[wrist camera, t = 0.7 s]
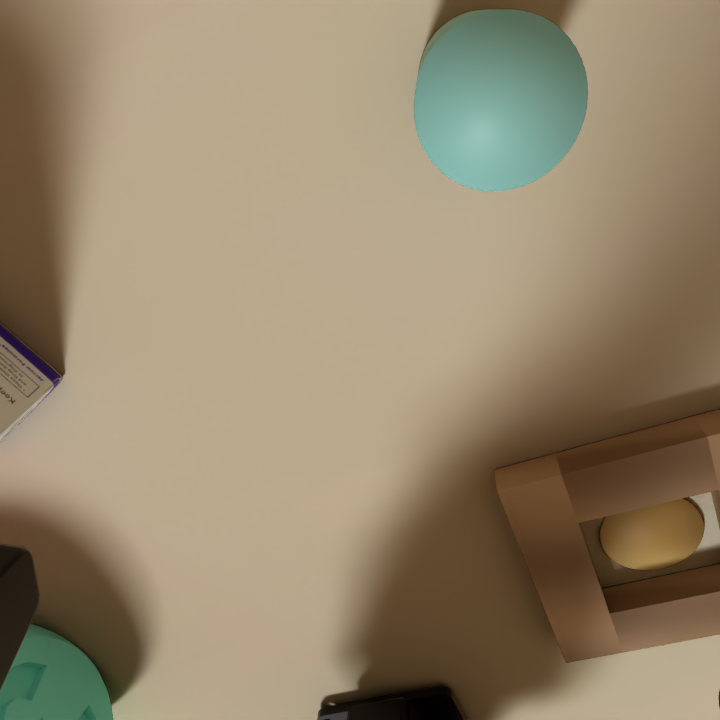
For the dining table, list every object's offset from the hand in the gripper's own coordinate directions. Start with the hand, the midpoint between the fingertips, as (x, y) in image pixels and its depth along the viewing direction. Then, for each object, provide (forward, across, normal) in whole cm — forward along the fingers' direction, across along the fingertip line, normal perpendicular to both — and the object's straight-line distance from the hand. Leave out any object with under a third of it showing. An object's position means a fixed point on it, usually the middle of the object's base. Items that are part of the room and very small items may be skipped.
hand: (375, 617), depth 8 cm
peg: (+13, -1, -6) cm, 15 cm away
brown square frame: (+14, -10, +9) cm, 19 cm away
